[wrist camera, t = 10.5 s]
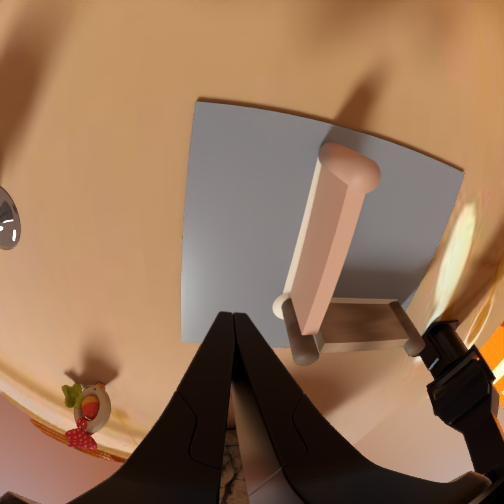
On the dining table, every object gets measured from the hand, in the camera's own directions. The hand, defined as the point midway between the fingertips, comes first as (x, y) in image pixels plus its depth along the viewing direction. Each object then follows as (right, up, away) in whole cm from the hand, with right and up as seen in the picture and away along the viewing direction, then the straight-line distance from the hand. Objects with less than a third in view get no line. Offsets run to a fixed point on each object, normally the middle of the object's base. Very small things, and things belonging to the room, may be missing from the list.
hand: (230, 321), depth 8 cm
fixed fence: (+10, -3, +18) cm, 21 cm away
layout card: (+7, +1, +15) cm, 17 cm away
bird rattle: (-23, -17, +24) cm, 37 cm away
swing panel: (+5, +4, +12) cm, 14 cm away
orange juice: (+51, -17, +30) cm, 61 cm away
